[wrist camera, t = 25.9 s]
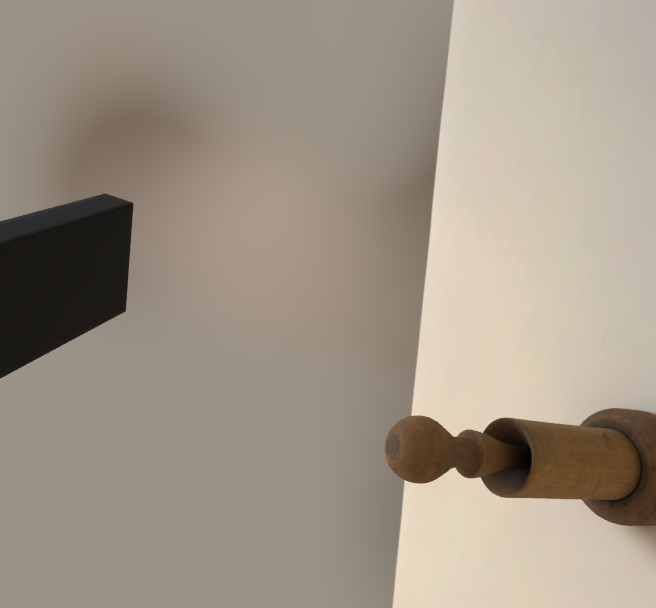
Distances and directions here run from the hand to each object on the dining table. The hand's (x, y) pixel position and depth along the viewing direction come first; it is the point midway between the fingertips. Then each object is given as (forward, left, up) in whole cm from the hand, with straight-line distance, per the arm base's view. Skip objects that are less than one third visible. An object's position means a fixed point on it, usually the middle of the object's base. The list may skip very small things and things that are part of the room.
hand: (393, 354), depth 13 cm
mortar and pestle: (-4, -12, -28) cm, 31 cm away
